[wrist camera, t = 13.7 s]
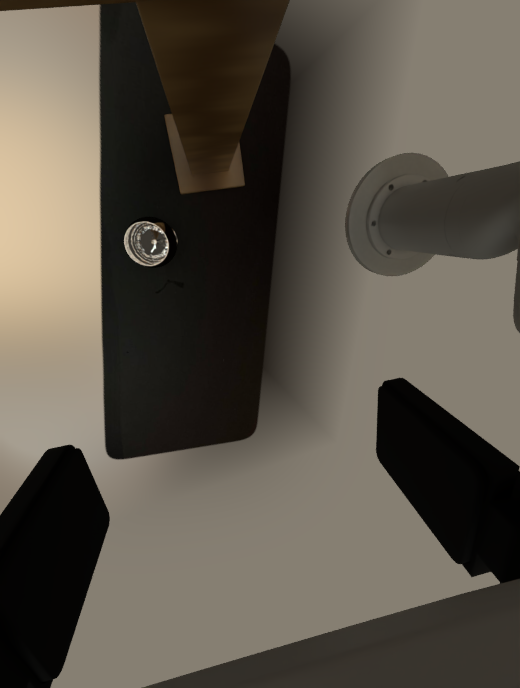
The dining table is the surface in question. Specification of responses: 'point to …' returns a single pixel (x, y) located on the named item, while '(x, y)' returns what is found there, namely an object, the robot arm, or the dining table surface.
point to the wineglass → (150, 242)
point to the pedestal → (203, 76)
